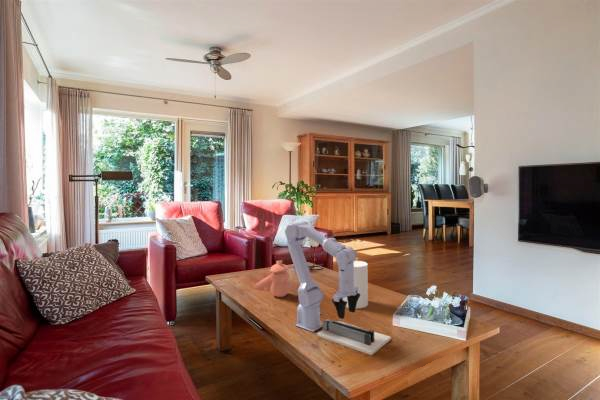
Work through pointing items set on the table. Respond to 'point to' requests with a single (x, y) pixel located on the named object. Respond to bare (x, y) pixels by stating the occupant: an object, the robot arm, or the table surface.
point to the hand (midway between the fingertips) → (346, 314)
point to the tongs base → (346, 332)
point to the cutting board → (375, 346)
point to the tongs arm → (356, 329)
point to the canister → (360, 283)
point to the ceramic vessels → (275, 280)
